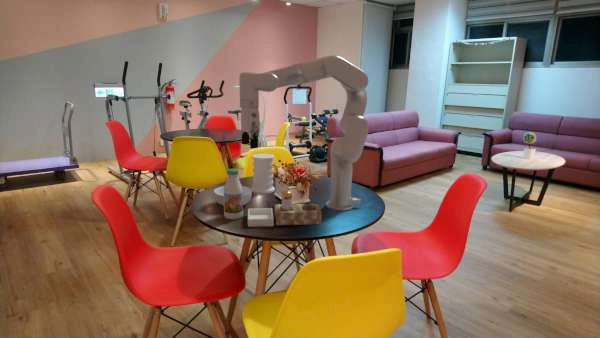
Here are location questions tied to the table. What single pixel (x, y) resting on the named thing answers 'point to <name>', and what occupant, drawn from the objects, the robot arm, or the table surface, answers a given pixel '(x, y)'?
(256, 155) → the decorative container
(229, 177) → the milk bottle
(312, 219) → the socket block
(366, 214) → the table surface
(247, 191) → the cereal bowl
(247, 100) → the robot arm
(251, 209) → the tray
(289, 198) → the pin
